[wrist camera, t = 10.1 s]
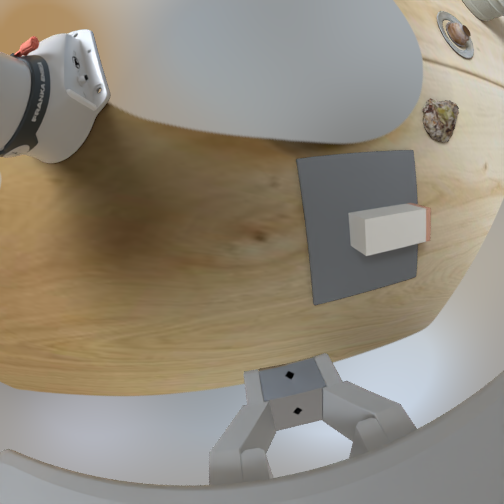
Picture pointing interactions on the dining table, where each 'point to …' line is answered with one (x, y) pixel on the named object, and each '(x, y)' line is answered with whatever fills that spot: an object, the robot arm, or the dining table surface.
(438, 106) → the mineral rock
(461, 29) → the pastry
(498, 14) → the jar
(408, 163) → the rubber mat
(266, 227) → the dining table surface
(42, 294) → the dining table surface
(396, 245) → the cream block
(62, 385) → the dining table surface
